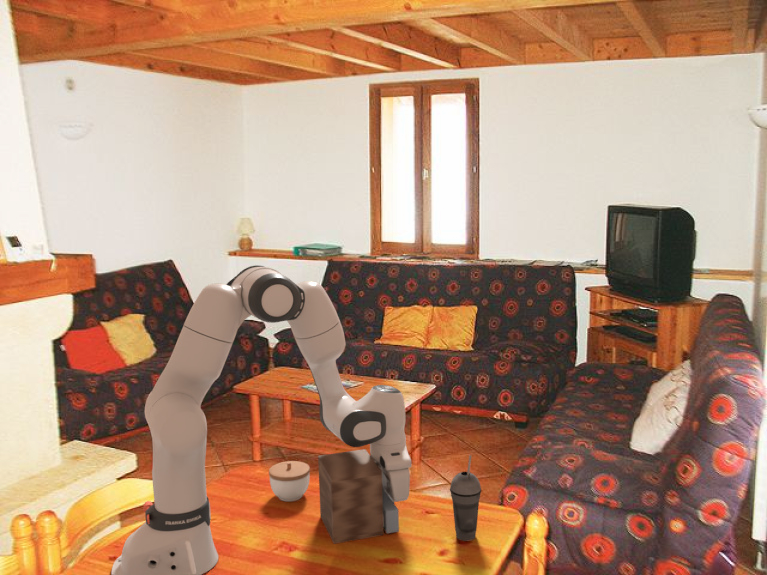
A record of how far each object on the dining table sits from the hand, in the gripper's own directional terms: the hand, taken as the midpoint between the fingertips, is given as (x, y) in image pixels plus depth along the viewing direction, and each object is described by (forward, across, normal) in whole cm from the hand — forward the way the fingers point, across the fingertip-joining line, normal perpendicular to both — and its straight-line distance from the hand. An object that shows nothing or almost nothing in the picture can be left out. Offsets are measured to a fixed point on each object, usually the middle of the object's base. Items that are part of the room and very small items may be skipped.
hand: (389, 502), depth 182 cm
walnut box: (+3, +2, -10) cm, 11 cm away
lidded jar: (+3, -18, -22) cm, 29 cm away
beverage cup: (+3, +16, +14) cm, 22 cm away
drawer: (+2, +3, -8) cm, 9 cm away
